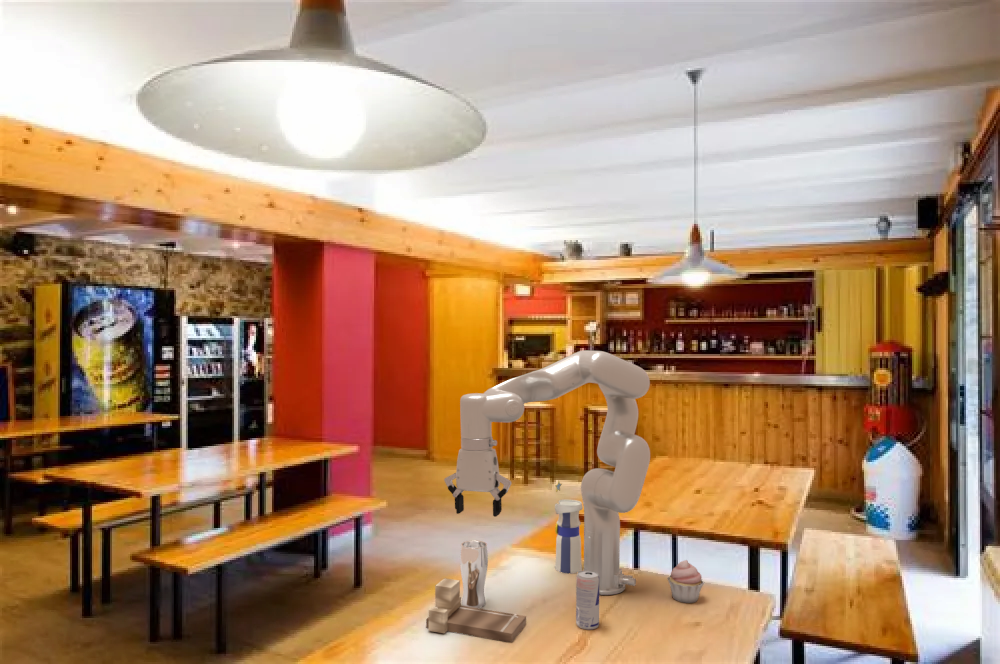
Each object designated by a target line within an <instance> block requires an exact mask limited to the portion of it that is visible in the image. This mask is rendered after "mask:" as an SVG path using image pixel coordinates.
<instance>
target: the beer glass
mask: <svg viewBox="0 0 1000 664" xmlns="http://www.w3.org/2000/svg"><path fill="white" fill-rule="evenodd" d="M488 554H489V553H488V543H487V542H485V541H483V540H477V539H475V540H466V541H463V542H462V543H461V544H460V556H459V557H460V559H459V566H460V574H461V581H462V589H463V591H462V597H461V606H467V607H474V608H480V607H481V608H483V607H485V606H486V604H487V602H486V596H485V584H486V578H487V575H488V574H487V573H488V562H489V558H488V557H489V555H488ZM481 608H480V609H481Z"/></svg>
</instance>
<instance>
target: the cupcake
mask: <svg viewBox="0 0 1000 664" xmlns="http://www.w3.org/2000/svg"><path fill="white" fill-rule="evenodd" d="M667 582H668V584H669V586H670V590H671V596H672V598H673V599H674V600H675V601H677V602H680V603H687V604H692V603H696V602H697V601H698V600H699V597H700V593H701V589H702V588H703V586H704V584H705V581H703V577H702V574H701V572H699V571H698V569H697V567H695V566H694V565H692V564H691V563H690V562H689V561H688V560H687V559H684V560H682V561H679V562H678V564H676V566H675V567H674V568H672V570H671V572H670V575H669V576H668V577H667Z"/></svg>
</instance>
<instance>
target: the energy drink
mask: <svg viewBox="0 0 1000 664" xmlns="http://www.w3.org/2000/svg"><path fill="white" fill-rule="evenodd" d="M575 579H576V583H575V589H576V590H575V591H576V592H575V593H576V596H575V598H576V599H575V603H576V604H575V608H576V610H575V624H576V626H577V627H578V628H580V629H582V630H589V631H590V630H596V629H597V628H598V627H599V626H600V595H599V574H598V573H597V572H595V571H590V570H584V569H582V570H581V571H579V572H578V573H576V577H575Z"/></svg>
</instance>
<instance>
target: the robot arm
mask: <svg viewBox="0 0 1000 664" xmlns="http://www.w3.org/2000/svg"><path fill="white" fill-rule="evenodd" d="M588 383H592V384H597V385H598V387H599V389H600V391H601V392H602V394H603V396H604V398H605V401H606V406H607V407H606V408H607V412H606V417H605V420H604V424H603V426H602V427H603V428H602V430H601V434H600V437H599V441H598V444H597V449H596V454H597V457H598V460H600V461H601V462H602V463H604V464H605V465H607V466H611V467H613V468H615V469H614V471H613V470H609V469H606V468H599V467H598V468H597V467H596V468H592V469H590V470H588V471H587V472H586V473H584V476H583V477H582V480H581V485H580V490H581V491H580V493H581V498H582V507H583V517H584V518H583V520H584V521H583V522H584V523H583V524H584V525H583V526H584V528H583V570H590V571H595V572H597V573H598V574H599V596H600V595H601V596H609V595H617V594H620V593H622V592H623V591H624V590H625V589H626V585H627V586H633V587H635V586H636V583H637V580H636V578H635V577H634V576H633V575H629V574H628V575H627V574H624V573H623V569H622V568H620V558H621V557H620V555H621V554H620V547H621V546H620V545H621V544H620V542H621V539H620V537H621V535H620V534H621V533H620V532H621V521H620V520H621V519H620V515H619V514H620V513H621V514H625V513H628V512H630V511H632V510H633V509H634V508H635V507H636V506H637V504H638V502H639V500H640V497H641V494H642V491H643V487H644V484H645V480H646V476H647V473H648V469H649V466H650V462H651V461H650V460H651V449H650V447H649V444H648V442H647V441H646V440H645V439H644V438H643V437H641V436H639V435H637V434H635V433H636V429H637V425H638V420H639V408H638V407H639V406H638V404H637V401H636V399H639V398H642V397H643V396H645V395H646V394H647V392H648V391H649V389H650V386H651V381H650V377H649V374H648V373H647V371H646V370H645V369H643V368H642V367H640V366H639V365H636V364H634V363H632V362H629V361H627V360H625V359H623V358H620V357H618V356H616V355H614V354H612V353H609V352H606V351H602V350H579V351H577V352H575V353H574V352H573V354H570V355H568V356H565V357H564V358H562V359H559V360H558V361H555V362H553V363H552V364H549V365H547V366H545V367H542V368H541V369H537V370H533V371H531V372H530V371H529V372H528V373H525V374H522V375H519V376H516V377H512V378H509V379H508V380H505V381H503V382H501V383H499V384H496V385H495V386H493V387H490V388H488V389H487V390H486V391H484V392H483V393H478V392H475V393H474V392H473V393H467V394H463V395H462V396H461V397H460V400H459V401H460V402H459V403H460V404H459V405H460V406H459V407H460V411H459V412H460V437H461V438H460V447H461V448H460V449H459V450H458V455H457V460H456V472H455V473H453V474H450V475H448V476H447V477H445V478H444V479H443V481H444V483H445V485H446V486H447V490H448V491H449V492H450V493H451V494H452V497H453V498H454V509H455V512H456V515H457V514H458V515H460V514H461V513H462V512H464V510H465V504H464V503H465V502H464V501H465V500H464V498H465V497H464V495H463V493H464V491H465V492H483V493H489V494H490V495H492V497H493V500H492V516H493V517H498V516H499V515H500V514H501V512H502V511H503V509H502V506H503V505H502V498H503V497H504V496H505V495H506V494H507V493H508V491H509V489H510V488H511V485H512V481H511V480H510V479H509V478H506V477H505V476H503V475H502V474H500V469H499V461H498V456H497V450H496V448H493V447H494V446H495V447H496V446H497V445H498V441H497V440H496V439H493V436H492V423H493V422H494V423H513V422H516V421H517V420H519V419H521V417H522V416H523V415H524V412H525V404H528V403H532V402H544V401H545V402H546V401H550V400H555V399H558V398H560V397H562V396H564V395H566V394H567V393H569V392H572V391H574V390H575V389H578V388H580V387H582V386H583V385H586V384H588ZM453 480H455V483H456V485H455V484H454V483H453ZM500 483H501V484H502V485H503V488H502V489H501V490H500V488H499V487H500ZM633 577H634V578H633Z"/></svg>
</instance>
